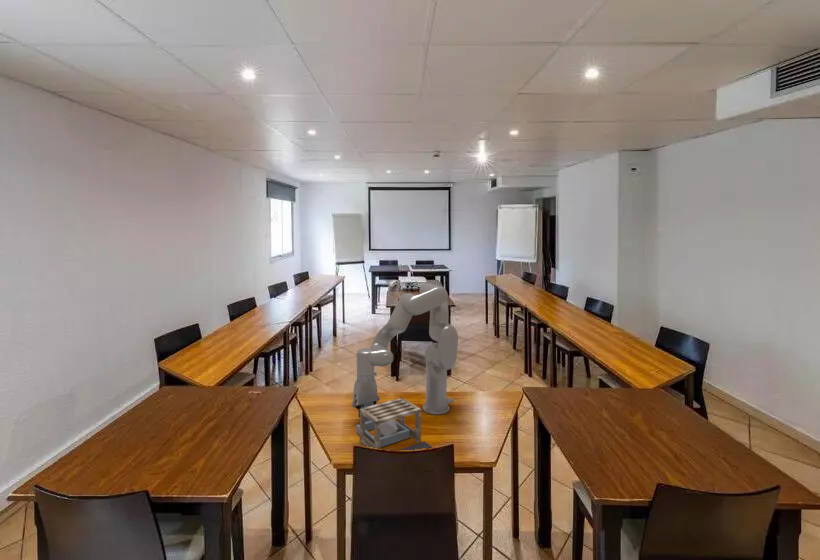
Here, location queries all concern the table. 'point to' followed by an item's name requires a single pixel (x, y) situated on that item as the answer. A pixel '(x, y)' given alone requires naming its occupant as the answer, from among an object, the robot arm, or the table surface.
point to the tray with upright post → (386, 440)
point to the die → (388, 428)
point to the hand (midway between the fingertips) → (365, 417)
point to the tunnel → (389, 419)
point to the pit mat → (418, 446)
